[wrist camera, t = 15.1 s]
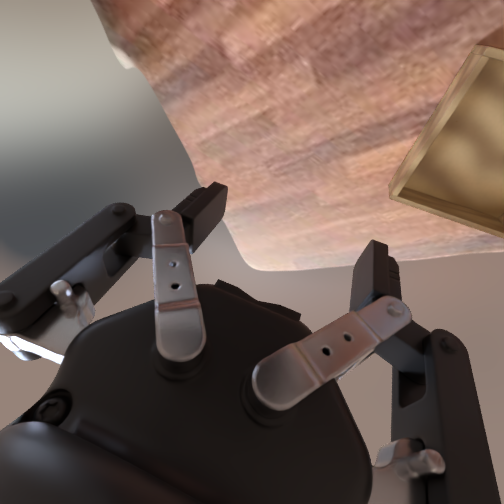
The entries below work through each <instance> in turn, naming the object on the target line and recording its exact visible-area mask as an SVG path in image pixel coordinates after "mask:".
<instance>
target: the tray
mask: <svg viewBox="0 0 504 504" xmlns="http://www.w3.org/2000/svg"><path fill="white" fill-rule="evenodd" d="M388 187H389V199H391V200H394V201H397V202H400V203H403V204H406V205H409V206H411V207H414V208H417V209H420V210H423V211H426V212H429V213H432V214H434V215H437V216H440V217H443V218H446V219H449V220H452V221H455V222H458V223H460V224H463V225H466V226H469V227H472V228H475V229H478V230H481V231H484V232H486V233H489V234H492V235H495V236H498V237H501V238H504V50H502V49H498V48H494V47H490V46H484V45H475V46H474V48H473V49H472V51H471V53H470V54H469V56H468V57H467V59H466V61H465V62H464V64H463V66H462V67H461V69H460V70H459V72H458V74H457V75H456V77H455V78H454V80H453V82H452V83H451V85H450V87H449V88H448V90H447V91H446V93H445V95H444V96H443V98H442V99H441V101H440V103H439V104H438V106H437V107H436V109H435V111H434V112H433V114H432V116H431V117H430V119H429V120H428V122H427V124H426V125H425V127H424V128H423V130H422V132H421V133H420V135H419V137H418V138H417V140H416V141H415V143H414V145H413V146H412V148H411V149H410V151H409V153H408V154H407V156H406V158H405V159H404V161H403V162H402V164H401V166H400V167H399V169H398V170H397V172H396V174H395V175H394V177H393V179H392V180H391V182H390V183H389V185H388Z"/></svg>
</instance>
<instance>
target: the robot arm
mask: <svg viewBox="0 0 504 504" xmlns="http://www.w3.org/2000/svg"><path fill="white" fill-rule="evenodd" d="M227 192H228V187H227V186H225V185H223V184H220V183H217V182H213V183H212V184H211V185H210V186H209V187H208V188H205V187H202V188H199V189H196V190H194V191H193V192H192V193H191V194H190V195H189V196H187V197H186V199H184V200H183V201H182V202H181V203H179V204H178V205H177V206H176V207H175V208H174V209H172V210H163V211H159V212H156V213H155V214H153V216H143V215H137V214H136V212H135V208H134V207H133V206H131V205H129V204H127V203H113V204H110V205H108V206H106V207H105V208H103V209H102V210H101V211H99V212H98V213H96V214H95V215H94V216H92V217H91V218H89V219H88V220H87V221H85V222H84V223H82V224H81V225H80V226H78V227H77V228H76V229H74V230H73V231H72V232H70V233H69V234H67V235H66V236H64V237H63V238H62V239H60V240H59V241H58V242H56V243H55V244H53V245H52V246H51V247H49V248H48V249H47V250H45V251H44V252H42V253H41V254H40V255H38V256H37V257H35V258H34V259H33V260H31V261H30V262H28V263H27V264H26V265H24V266H23V267H22V268H20V269H19V270H17V271H16V272H15V273H13V274H12V275H10V276H9V277H8V278H6V279H5V280H4V281H2V282H1V283H0V342H1V343H2V344H3V345H4V346H5V347H6V348H8V349H9V350H11V351H12V352H13V353H14V354H15V355H16V356H17V357H18V358H20V359H22V360H28V361H29V360H36V359H39V358H41V357H44V358H46V359H49V360H51V361H54V362H56V363H58V364H61V366H60V368H59V370H58V373H57V375H56V377H55V379H54V381H53V382H52V384H51V385H50V387H49V388H48V390H47V392H46V393H45V394H44V395H43V396H42V398H41V399H40V400H39V401H38V402H37V403H35V404H34V405H33V406H32V407H31V408H30V409H28V410H27V411H26V412H25V413H23V415H21V416H20V417H18V418H17V419H16V420H14V421H13V422H12V423H11V424H9V425H7V426H6V427H5V428H3V429H2V430H1V431H0V504H501V501H500V496H499V491H498V487H497V482H496V477H495V473H494V469H493V464H492V460H491V455H490V450H489V446H488V442H487V437H486V432H485V428H484V423H483V419H482V414H481V409H480V405H479V400H478V396H477V391H476V387H475V382H474V378H473V373H472V369H471V364H470V360H469V355H468V351H467V349H466V347H465V346H464V344H463V343H462V342H461V341H460V340H459V339H458V338H457V337H456V336H455V335H453V334H452V333H450V332H448V331H445V330H443V329H435V330H433V331H432V332H429V331H428V330H426V329H425V328H423V327H421V326H420V325H418V324H417V323H415V322H414V321H413V320H412V314H411V311H410V309H409V308H408V307H407V305H406V304H404V303H403V302H402V297H401V286H400V277H399V266H398V264H397V262H396V261H395V259H394V258H393V257H390V256H388V245H386V244H384V243H381V242H378V241H375V240H371V241H370V242H369V244H368V245H367V247H366V248H365V250H364V251H363V253H362V254H361V256H360V257H359V259H358V260H357V262H356V264H355V267H354V270H353V280H352V289H351V300H350V310H349V313H347V314H345V315H343V316H342V317H340V318H338V319H337V320H335V321H333V322H331V323H330V324H328V325H326V326H324V327H323V328H321V329H319V330H318V331H316V332H314V333H312V332H311V330H309V328H308V327H307V326H306V325H305V324H303V323H302V322H301V321H299V320H300V316H301V314H300V313H298V312H295V311H293V310H291V309H288V308H286V307H284V306H281V305H277V304H272V303H267V302H261V301H257V300H255V299H254V298H252V297H251V296H249V295H248V294H247V293H245V292H244V291H242V290H241V289H240V288H238V287H236V286H234V285H231V284H229V283H226V282H224V281H221V280H219V279H218V280H217V282H216V284H215V285H213V284H198V285H196V284H195V279H194V273H193V268H192V262H191V256H190V254H193V253H194V252H195V251H196V250H197V248H198V247H199V246H200V245H201V243H202V242H203V241H204V240H205V239H206V237H207V236H208V235H209V234H210V233H211V231H212V230H213V229H214V228H215V227H216V225H217V224H218V223H219V222H220V221H221V219H222V218H223V215H224V212H225V207H226V200H227ZM139 257H142V258H149V259H153V277H154V296H155V299H154V300H151V301H148V302H146V303H143V304H140V305H138V306H135V307H132V308H129V309H127V310H124V311H121V312H118V313H116V314H113V315H110V316H108V317H105V318H102V319H100V320H97V321H95V322H93V323H92V324H90V322H91V321H92V319H93V318H94V316H95V308H94V305H95V304H96V303H97V302H98V301H99V300H100V299H101V298H102V297H103V295H104V294H105V293H106V292H107V291H108V290H109V289H110V288H111V287H112V286H113V285H114V284H115V283H116V282H117V281H118V280H119V279H120V277H121V276H122V275H123V274H124V273H125V272H126V271H127V270H128V269H129V268H130V267H131V266H132V265H133V264H134V263H135V261H136V260H137V259H138V258H139ZM89 324H90V325H89ZM374 353H376V354H378V355H379V356H380V357H382V358H383V359H384V360H386V361H387V362H388V363H390V364H391V365H392V366H393V367H392V420H391V443H388V444H385V445H383V446H382V447H381V448H380V449H379V452H378V455H377V460H376V463H375V465H374V466H372V464H371V459H370V455H369V452H368V449H367V447H366V445H365V442H364V440H363V438H362V435H361V433H360V431H359V429H358V427H357V425H356V423H355V420H354V419H353V416H352V414H351V412H350V410H349V407H348V405H347V403H346V401H345V399H344V397H343V395H342V392H341V390H340V388H339V386H338V384H337V382H338V381H339V380H340V379H342V378H343V377H344V376H345V375H347V374H348V373H349V372H350V371H351V370H353V369H354V368H356V367H357V366H358V365H359V364H361V363H362V362H364V361H365V360H366V359H368V358H369V357H370V356H372V355H373V354H374Z"/></svg>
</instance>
